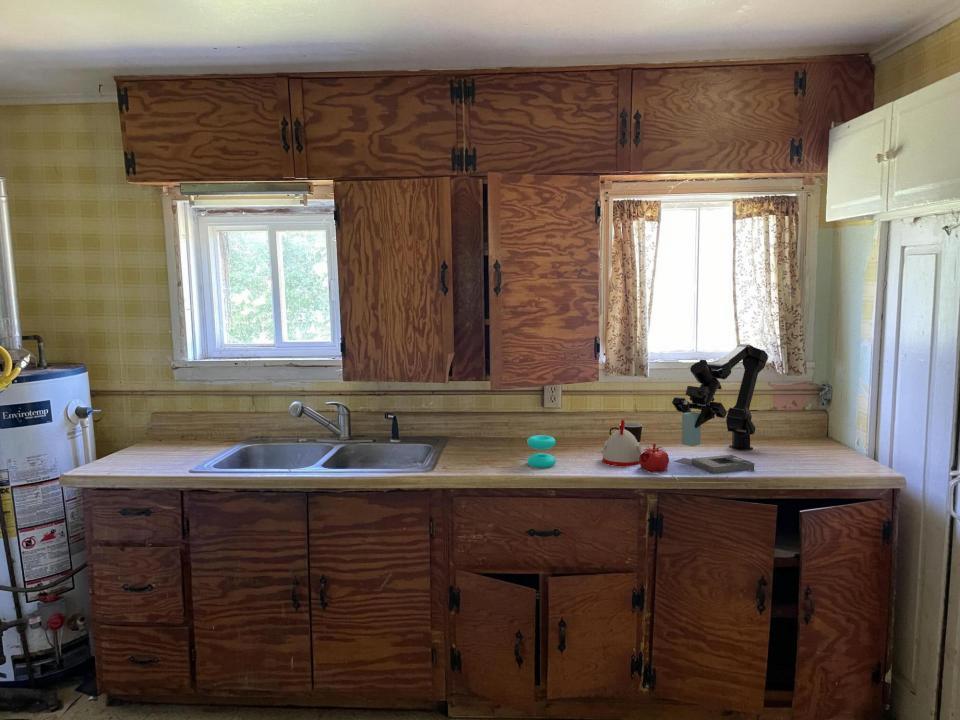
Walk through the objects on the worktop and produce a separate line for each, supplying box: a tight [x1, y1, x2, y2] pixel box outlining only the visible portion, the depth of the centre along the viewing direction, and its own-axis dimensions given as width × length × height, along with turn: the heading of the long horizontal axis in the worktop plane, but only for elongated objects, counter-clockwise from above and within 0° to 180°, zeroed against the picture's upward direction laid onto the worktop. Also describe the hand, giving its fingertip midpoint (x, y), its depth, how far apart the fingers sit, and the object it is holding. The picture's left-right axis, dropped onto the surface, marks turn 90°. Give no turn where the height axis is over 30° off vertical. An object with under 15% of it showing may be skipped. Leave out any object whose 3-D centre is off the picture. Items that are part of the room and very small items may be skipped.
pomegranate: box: [639, 443, 670, 473], centre depth 212 cm, size 10×10×9 cm
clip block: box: [681, 411, 702, 447], centre depth 219 cm, size 4×4×11 cm
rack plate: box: [691, 454, 755, 475], centre depth 213 cm, size 12×16×3 cm
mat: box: [673, 457, 693, 466], centre depth 221 cm, size 7×7×1 cm
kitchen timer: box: [602, 419, 643, 467], centre depth 223 cm, size 14×14×15 cm
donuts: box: [526, 434, 557, 469], centre depth 220 cm, size 10×10×10 cm
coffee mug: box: [609, 422, 643, 443], centre depth 240 cm, size 12×9×10 cm
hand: (689, 426), depth 218 cm, fingers closed on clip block, 4 cm apart
